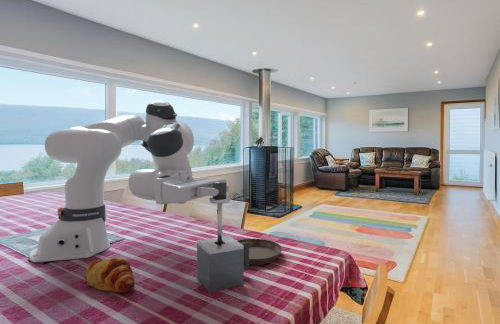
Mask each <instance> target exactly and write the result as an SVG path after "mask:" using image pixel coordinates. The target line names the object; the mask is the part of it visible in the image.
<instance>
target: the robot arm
mask: <svg viewBox="0 0 500 324" xmlns="http://www.w3.org/2000/svg"><path fill="white" fill-rule="evenodd" d="M145 108H146V109H145V120H144V119H143V117H141V116H139V115H138V114H125V115H119V116H116V117H112V118H109V119H106V120H104V121H99V122H95V123H88V124H83V125H79V126H74V127H73V126H72V127H70V128H64V129H60V130H57V131H53V132H51V133H49V134H48V135H47V137H46V139H45V142H44V150H45V153H46V154H47V156H48V157H49V158H51V159H52V160H54V161H58V162H60V163H65V164H76V169H75V172H74V174H73V176H71V177H70V178H69V179H67V180H66V182H65V185H64V194H65V195H64V198H65V202H64V203H65V207H64V206H60V207H58V208H57V216H58V217H57V218H58V220H57V221H55V222H54V223H53V224H52V225H50V226H49V227H48V228H47V229H45V230H44V231H43V232H42V233H41V234H40V236H39V239H38V242H37V246H36V247H34V248H33V249H32V250H31V251H30V252H29V261H30V262H32V263H43V262H51V261H53V262H55V261H65V260H67V261H68V260H76V259H77V260H78V259H87V258H91V257H92V256H94V255H96V254H99V253H101V252H104V251H106V250H108V249H109V248H110V247H111V244H110V240H109V236H108V234H107V227H106V226H107V225H106V221H107V220H106V219H107V208H106V204H105V203H104V202H105V201H104V200H105V199H104V197H105V195H104V194H105V193H104V191H105V190H104V189H105V178H106V176H107V172H108V170H109V168H110V167H111V166H112V165H113V163H114V162H115V161H116V160H117V159H118V158H119V157H120V155H121V153H122V150H123V148H125V147H127V146H129V145H131V144H133V143H135V142H139V141H140V145H141V146H142V147H143V148H145V150H146V151H147V152H149V153H150V154H151V157H152V160H153V163H154V165H155V168H143V169H142V168H141V169H136V170H134V171H132V172H131V173H130V175H129V177H128V187H129V190H130V193H131V194H132V195H133V196H135V197H136V198H139V199H142V200H146V201H153V202H155V203H156V204H155V205H167V204H176V205H177V204H178V205H183V204H186V203H187V202H190V201H194V200H196V199H197V200H198V199H200V198H201V199H202V198H203V197H213V196H217V195H219V189H218V188H213V182H227V180H226V178H224V177H199V178H194V177H193V171H192V167H191V163H190V161H189V158H188V155H189V154H190V153H191V152H192V151H193V148H194V143H195V142H194V139H195V138H194V133H193V129H191V127H190V126H189V125H188V124H187V123H186V122H183V121H177V118H176V117H177V116H178V113H177V112H176V111H175V109H174V107H173V106H172V104H170V102H166V101H164V100H159V99H158V100H153V101H150V102H148V103H147V105H146V107H145ZM229 192H230V186H229V185H227V194H228V193H229Z"/></svg>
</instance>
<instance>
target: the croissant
mask: <svg viewBox="0 0 500 324" xmlns="http://www.w3.org/2000/svg"><path fill="white" fill-rule="evenodd" d="M85 278H86V282H87V283H86V285H87V286H89V287H93V288H95V290H99V291H107V292H108V291H109V292H114V293H127V292H129V291H131V290H133V289H134V288H135V284H136V281H135V280H136V279H135V277H134V275H133V269H132V267H131V264H130V262H129V261H128V260H127V259H125V258H124V257H122V258H120V257H118V256H117V257H109V258H98V259H95V260H93V261H90V262H89V263H88V264H87V267H86V269H85Z"/></svg>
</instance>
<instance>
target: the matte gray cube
mask: <svg viewBox="0 0 500 324" xmlns="http://www.w3.org/2000/svg"><path fill="white" fill-rule="evenodd" d="M249 269H250V265H249V243H248V242H242V243H239V242H238V241H237V240H236V239H234V237H232V236H230V235H224V236H222V243H221V244H218V243H217V237H211V238H205V239H197V240H196V271H197V272H196V274H197V277H196V278H197V280H198V281H199V282H200V283H201V284H202V286H203V287H204V288H205V290H206V291H207V292H208V293H209V294H210V293H214V292H217V291H218V292H219V291H224V290H227V289H228V290H229V289H231V288H236V287H237V288H238V287H240V286H244V281H245V280H244V276H245V275H244V272H245V271H246V270H249Z"/></svg>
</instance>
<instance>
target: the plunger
mask: <svg viewBox="0 0 500 324" xmlns="http://www.w3.org/2000/svg"><path fill="white" fill-rule="evenodd" d="M227 186H228V185H227V181H226V182H213V188H218V189H219V195H217V196H210V198H208V202H209V203H211V204H214V205H215V204H216V205H217V206H216V207H217V209H216V213H217V216H216V217H217V218H216V221H217V223H216V224H217V226H216V227H217V232H216V233H217V236H216V238H217V243H218V244H221V243H222V237H223V204H228V203H231V197H228V196H227V194H228V193H227Z"/></svg>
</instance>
